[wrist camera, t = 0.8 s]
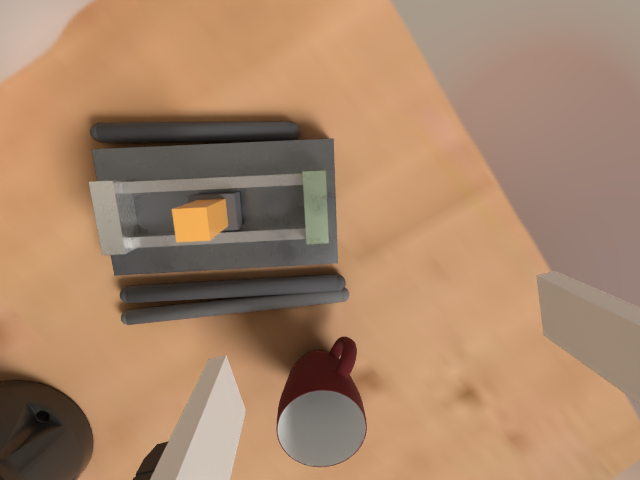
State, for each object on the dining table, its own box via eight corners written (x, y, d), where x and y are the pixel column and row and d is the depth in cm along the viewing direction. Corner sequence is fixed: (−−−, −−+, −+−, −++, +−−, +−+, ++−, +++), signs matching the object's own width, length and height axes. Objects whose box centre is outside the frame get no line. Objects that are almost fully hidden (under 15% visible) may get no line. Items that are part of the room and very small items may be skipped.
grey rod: (126, 299, 38) (117, 306, 36) (123, 284, 38) (115, 289, 36) (344, 287, 39) (346, 293, 37) (344, 271, 38) (346, 276, 37)
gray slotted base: (129, 266, 37) (96, 286, 31) (109, 150, 35) (69, 148, 29) (335, 255, 38) (340, 272, 32) (331, 140, 35) (336, 136, 29)
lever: (200, 227, 33) (165, 248, 25) (196, 193, 33) (159, 203, 24) (242, 225, 33) (221, 245, 25) (239, 191, 33) (217, 201, 24)
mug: (305, 305, 39) (305, 352, 29) (371, 328, 40) (392, 381, 30) (273, 384, 41) (263, 453, 31) (337, 404, 42) (346, 477, 32)
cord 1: (98, 143, 35) (87, 142, 33) (96, 123, 34) (84, 121, 32) (300, 141, 35) (299, 140, 33) (299, 122, 35) (299, 120, 33)
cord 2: (127, 321, 39) (119, 328, 37) (124, 308, 38) (116, 314, 37) (348, 297, 39) (350, 303, 37) (347, 284, 39) (349, 289, 37)
